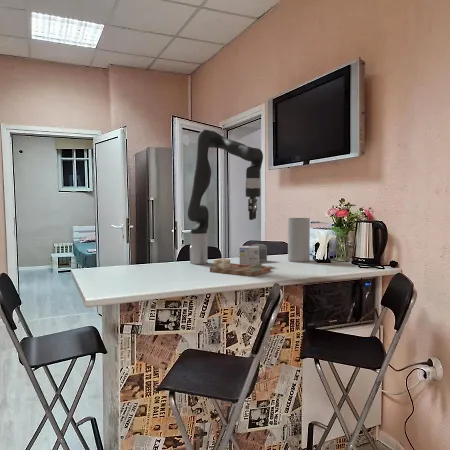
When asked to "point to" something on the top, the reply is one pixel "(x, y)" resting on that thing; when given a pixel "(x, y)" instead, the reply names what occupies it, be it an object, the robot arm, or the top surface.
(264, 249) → the cassette player
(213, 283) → the top surface
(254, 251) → the light bulb box
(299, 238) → the cylinder vase
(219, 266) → the birch block
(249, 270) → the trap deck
